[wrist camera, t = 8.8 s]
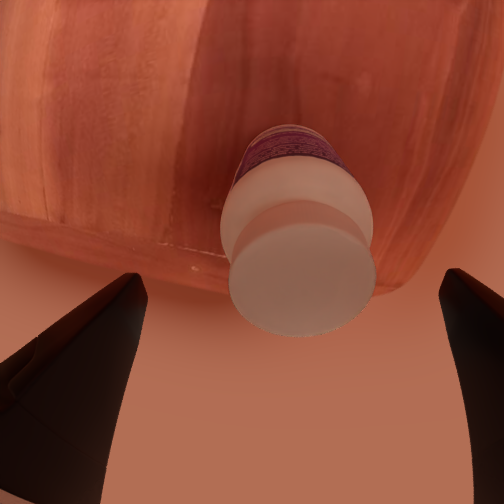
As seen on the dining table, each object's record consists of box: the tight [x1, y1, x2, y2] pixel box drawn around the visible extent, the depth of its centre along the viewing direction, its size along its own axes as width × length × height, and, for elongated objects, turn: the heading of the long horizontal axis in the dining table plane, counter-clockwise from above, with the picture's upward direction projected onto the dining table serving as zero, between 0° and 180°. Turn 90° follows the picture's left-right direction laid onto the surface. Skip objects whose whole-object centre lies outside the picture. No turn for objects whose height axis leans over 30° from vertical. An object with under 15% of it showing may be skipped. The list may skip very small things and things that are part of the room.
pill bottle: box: [220, 124, 376, 337], centre depth 11 cm, size 5×5×10 cm
